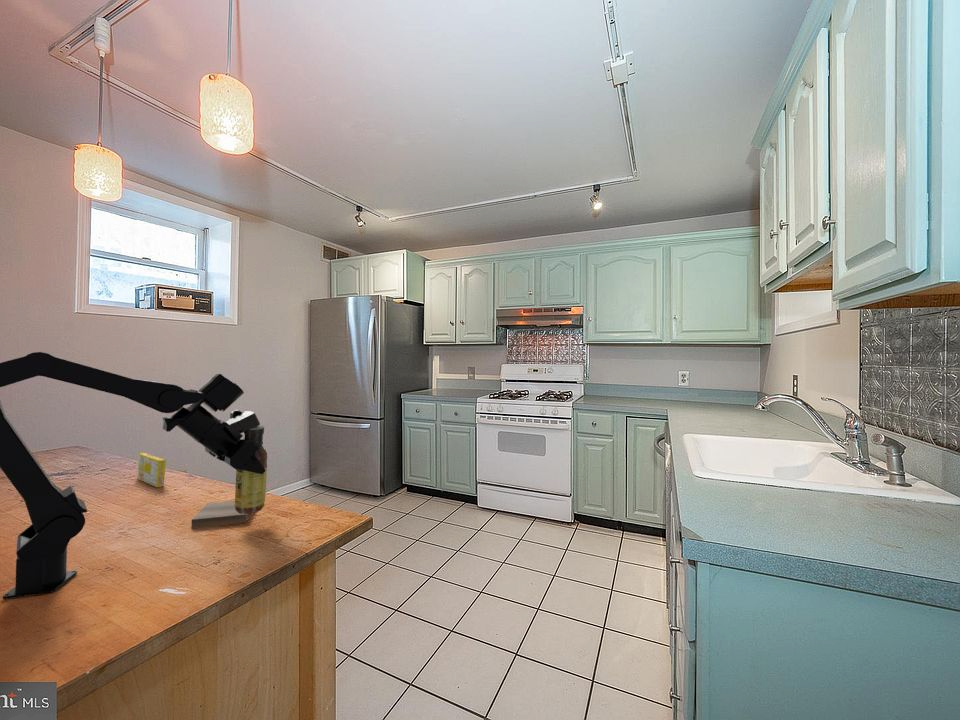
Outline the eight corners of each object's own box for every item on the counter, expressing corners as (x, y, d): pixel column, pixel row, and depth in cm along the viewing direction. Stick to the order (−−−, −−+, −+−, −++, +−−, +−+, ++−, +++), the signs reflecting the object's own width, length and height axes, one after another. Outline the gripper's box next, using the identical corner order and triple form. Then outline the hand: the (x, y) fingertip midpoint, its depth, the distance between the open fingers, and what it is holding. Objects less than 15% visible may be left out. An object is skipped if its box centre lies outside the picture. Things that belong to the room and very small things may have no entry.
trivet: (245, 522, 94) (245, 514, 94) (191, 528, 90) (191, 519, 90) (255, 506, 104) (255, 498, 104) (207, 510, 101) (207, 503, 101)
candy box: (165, 486, 119) (166, 459, 119) (156, 488, 117) (157, 460, 117) (144, 477, 128) (145, 452, 128) (136, 479, 126) (137, 453, 126)
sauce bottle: (235, 505, 93) (240, 423, 93) (265, 502, 96) (269, 423, 95) (232, 517, 88) (236, 430, 87) (264, 514, 90) (268, 429, 89)
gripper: (250, 403, 82) (301, 448, 91) (222, 397, 95) (269, 437, 103) (205, 446, 76) (263, 490, 85) (181, 433, 89) (234, 472, 97)
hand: (258, 469), depth 92 cm, fingers closed on sauce bottle, 6 cm apart
